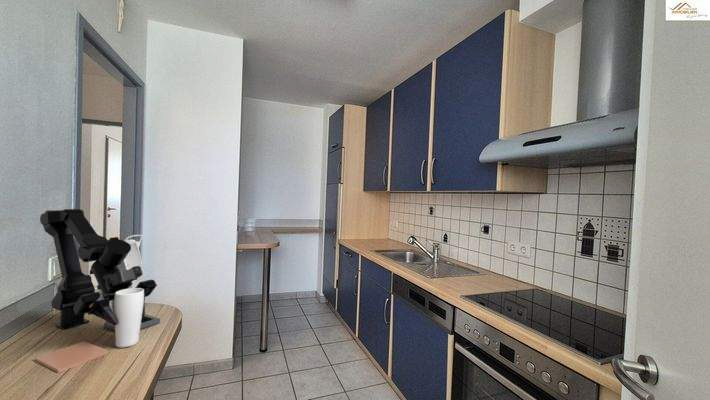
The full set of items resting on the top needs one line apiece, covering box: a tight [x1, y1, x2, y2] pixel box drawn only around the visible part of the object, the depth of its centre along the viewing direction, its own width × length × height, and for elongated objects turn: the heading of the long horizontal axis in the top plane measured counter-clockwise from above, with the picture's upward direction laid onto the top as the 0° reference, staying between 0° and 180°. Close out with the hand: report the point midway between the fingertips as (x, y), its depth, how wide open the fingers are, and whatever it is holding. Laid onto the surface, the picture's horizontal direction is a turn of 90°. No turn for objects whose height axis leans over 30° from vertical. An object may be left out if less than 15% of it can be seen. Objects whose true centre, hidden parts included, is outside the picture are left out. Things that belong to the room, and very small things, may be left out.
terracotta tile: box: [34, 340, 109, 374], centre depth 77 cm, size 12×10×1 cm
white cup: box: [114, 288, 144, 349], centre depth 84 cm, size 7×7×15 cm
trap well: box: [103, 313, 161, 332], centre depth 96 cm, size 12×10×2 cm
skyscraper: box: [110, 234, 144, 313], centre depth 105 cm, size 8×8×28 cm
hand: (130, 320), depth 83 cm, fingers closed on white cup, 7 cm apart
